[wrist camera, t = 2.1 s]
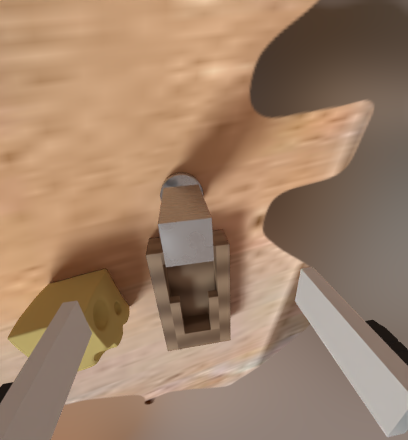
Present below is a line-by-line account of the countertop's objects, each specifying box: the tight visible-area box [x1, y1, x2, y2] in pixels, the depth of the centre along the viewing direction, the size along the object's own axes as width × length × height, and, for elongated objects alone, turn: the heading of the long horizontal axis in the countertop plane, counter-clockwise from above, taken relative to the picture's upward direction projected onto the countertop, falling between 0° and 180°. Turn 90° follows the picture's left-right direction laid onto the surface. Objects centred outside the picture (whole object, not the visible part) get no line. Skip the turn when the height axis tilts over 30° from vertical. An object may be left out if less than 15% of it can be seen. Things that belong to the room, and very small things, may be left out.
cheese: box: [8, 269, 129, 372], centre depth 32 cm, size 10×11×10 cm
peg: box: [158, 173, 214, 267], centre depth 24 cm, size 6×6×14 cm
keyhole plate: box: [146, 230, 230, 351], centre depth 36 cm, size 22×12×4 cm, turn 4°
